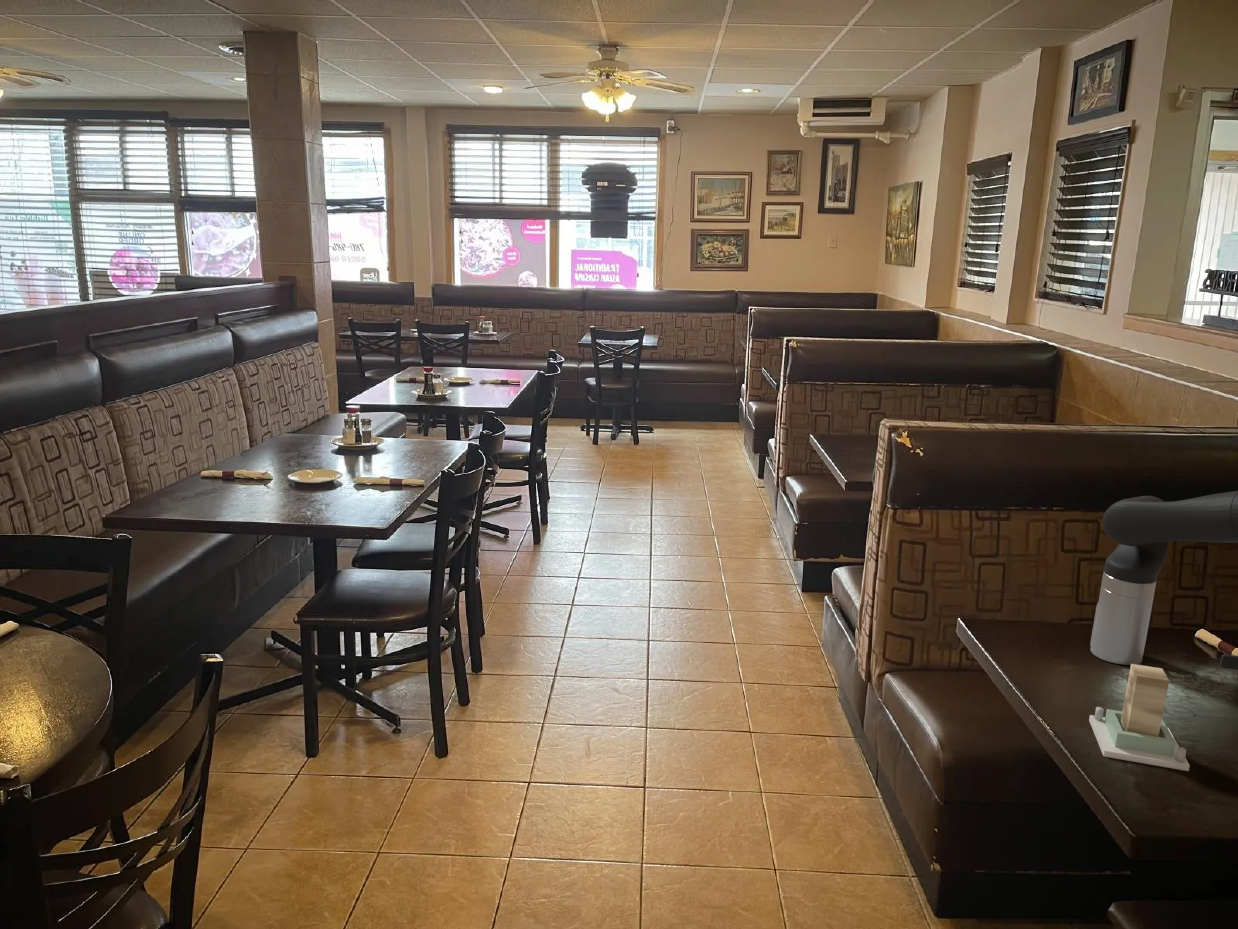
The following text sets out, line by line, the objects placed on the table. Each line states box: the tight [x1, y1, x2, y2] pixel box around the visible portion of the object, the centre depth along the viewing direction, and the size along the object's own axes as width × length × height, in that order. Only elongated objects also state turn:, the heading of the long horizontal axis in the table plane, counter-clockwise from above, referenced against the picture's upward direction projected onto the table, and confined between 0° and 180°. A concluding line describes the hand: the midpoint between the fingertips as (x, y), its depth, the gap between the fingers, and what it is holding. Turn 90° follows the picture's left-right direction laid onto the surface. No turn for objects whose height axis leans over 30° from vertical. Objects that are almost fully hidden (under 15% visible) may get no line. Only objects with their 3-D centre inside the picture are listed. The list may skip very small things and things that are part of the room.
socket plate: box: [1088, 706, 1191, 772], centre depth 144 cm, size 12×12×4 cm
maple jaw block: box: [1120, 664, 1170, 737], centre depth 143 cm, size 4×4×12 cm
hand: (1229, 672), depth 141 cm, fingers open, 8 cm apart
